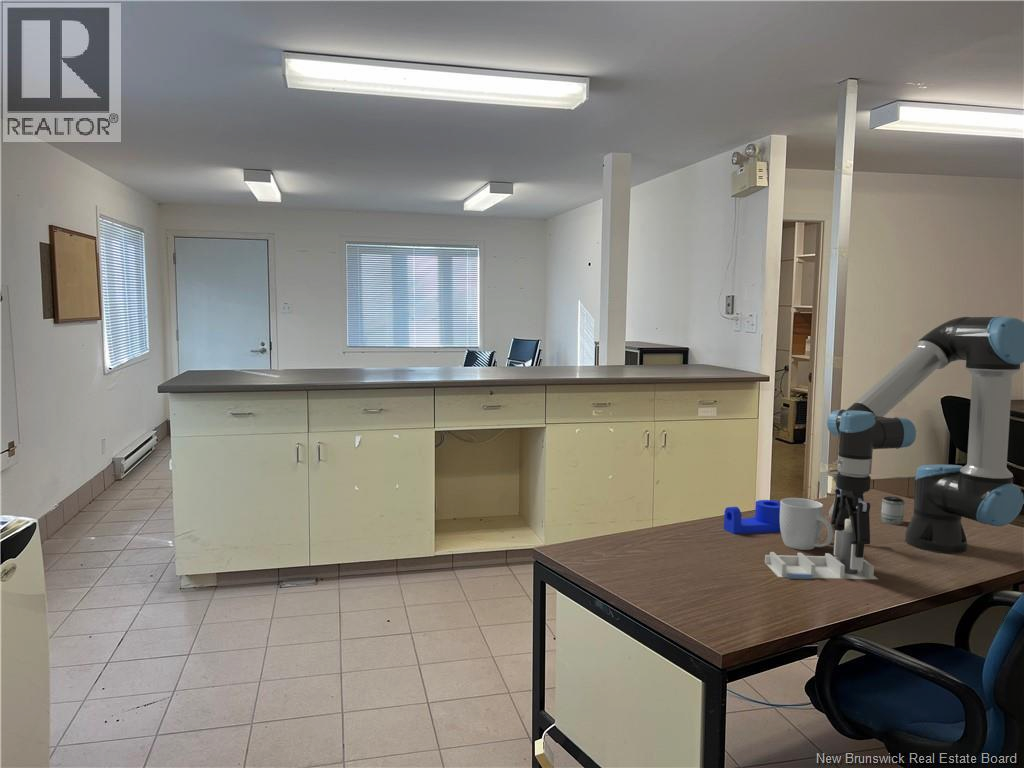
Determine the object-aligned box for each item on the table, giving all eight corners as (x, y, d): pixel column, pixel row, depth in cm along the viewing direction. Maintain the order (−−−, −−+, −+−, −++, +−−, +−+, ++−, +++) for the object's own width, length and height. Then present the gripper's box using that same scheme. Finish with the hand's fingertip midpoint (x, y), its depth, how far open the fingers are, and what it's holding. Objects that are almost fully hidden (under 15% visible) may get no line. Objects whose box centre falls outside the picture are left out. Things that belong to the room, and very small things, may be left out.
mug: (842, 554, 188) (845, 507, 187) (818, 562, 182) (821, 513, 181) (793, 539, 200) (795, 495, 199) (769, 546, 194) (771, 500, 193)
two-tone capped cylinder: (852, 568, 175) (855, 518, 173) (860, 574, 171) (863, 522, 169) (836, 568, 175) (839, 517, 174) (843, 573, 171) (846, 522, 170)
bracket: (772, 522, 218) (773, 499, 218) (792, 531, 210) (793, 506, 209) (719, 527, 212) (720, 503, 211) (737, 536, 204) (738, 511, 203)
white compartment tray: (859, 568, 178) (859, 553, 177) (879, 584, 167) (880, 568, 167) (764, 566, 178) (765, 551, 178) (779, 582, 168) (780, 566, 167)
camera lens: (876, 519, 222) (877, 495, 221) (894, 519, 223) (896, 495, 222) (889, 525, 216) (890, 500, 215) (907, 524, 217) (909, 500, 216)
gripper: (820, 463, 181) (815, 547, 184) (858, 484, 160) (851, 578, 163) (849, 464, 181) (844, 547, 184) (891, 484, 160) (884, 579, 162)
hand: (847, 561), depth 173 cm, fingers open, 9 cm apart
